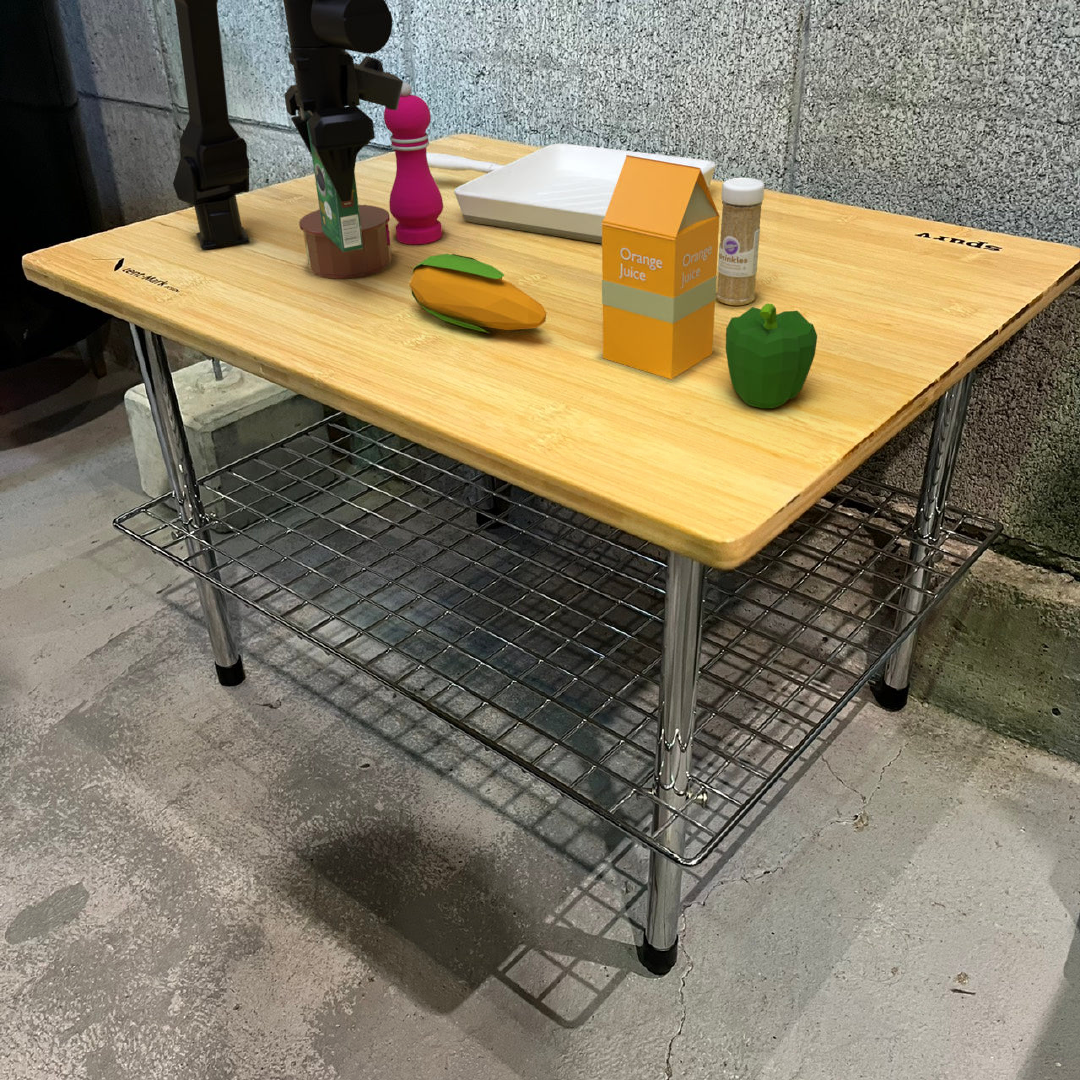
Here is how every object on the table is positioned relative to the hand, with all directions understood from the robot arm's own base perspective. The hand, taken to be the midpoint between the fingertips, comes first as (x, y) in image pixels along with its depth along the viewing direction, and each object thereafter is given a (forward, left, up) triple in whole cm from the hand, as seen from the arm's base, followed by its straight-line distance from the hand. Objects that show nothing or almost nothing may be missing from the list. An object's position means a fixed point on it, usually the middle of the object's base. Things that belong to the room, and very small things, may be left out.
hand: (338, 191), depth 124 cm
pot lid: (-12, +2, -7) cm, 14 cm away
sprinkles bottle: (+21, +40, -13) cm, 47 cm away
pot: (-12, +2, -13) cm, 18 cm away
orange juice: (+31, +25, -13) cm, 42 cm away
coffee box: (0, 0, -6) cm, 6 cm away
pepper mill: (-18, +13, -13) cm, 26 cm away
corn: (+15, +11, -13) cm, 23 cm away
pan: (-25, +34, -13) cm, 44 cm away
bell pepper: (+44, +30, -13) cm, 55 cm away
